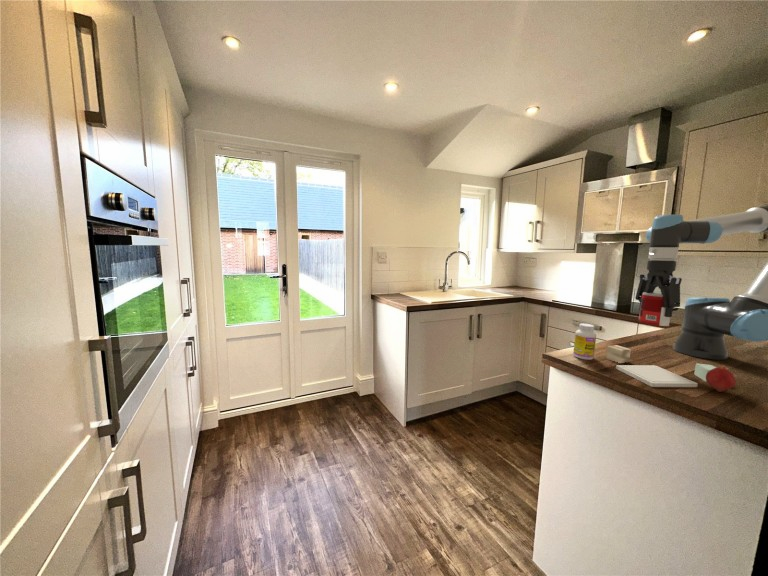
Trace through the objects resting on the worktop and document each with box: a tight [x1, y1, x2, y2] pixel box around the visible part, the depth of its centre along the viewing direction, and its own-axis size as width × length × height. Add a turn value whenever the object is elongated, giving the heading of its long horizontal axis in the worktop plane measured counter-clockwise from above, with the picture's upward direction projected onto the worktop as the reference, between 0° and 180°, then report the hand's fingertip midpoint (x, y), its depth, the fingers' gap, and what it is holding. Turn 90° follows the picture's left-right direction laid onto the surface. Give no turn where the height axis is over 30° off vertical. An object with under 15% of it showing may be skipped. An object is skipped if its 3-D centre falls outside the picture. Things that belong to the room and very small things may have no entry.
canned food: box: [638, 291, 669, 327], centre depth 107 cm, size 8×8×11 cm
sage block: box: [693, 363, 717, 383], centre depth 96 cm, size 4×6×4 cm, turn 159°
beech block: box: [605, 344, 632, 364], centre depth 112 cm, size 5×5×5 cm
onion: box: [706, 365, 737, 392], centre depth 88 cm, size 6×6×8 cm
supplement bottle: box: [572, 323, 597, 361], centre depth 114 cm, size 7×7×13 cm
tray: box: [615, 364, 699, 388], centre depth 97 cm, size 14×14×1 cm
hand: (653, 322), depth 108 cm, fingers closed on canned food, 8 cm apart
